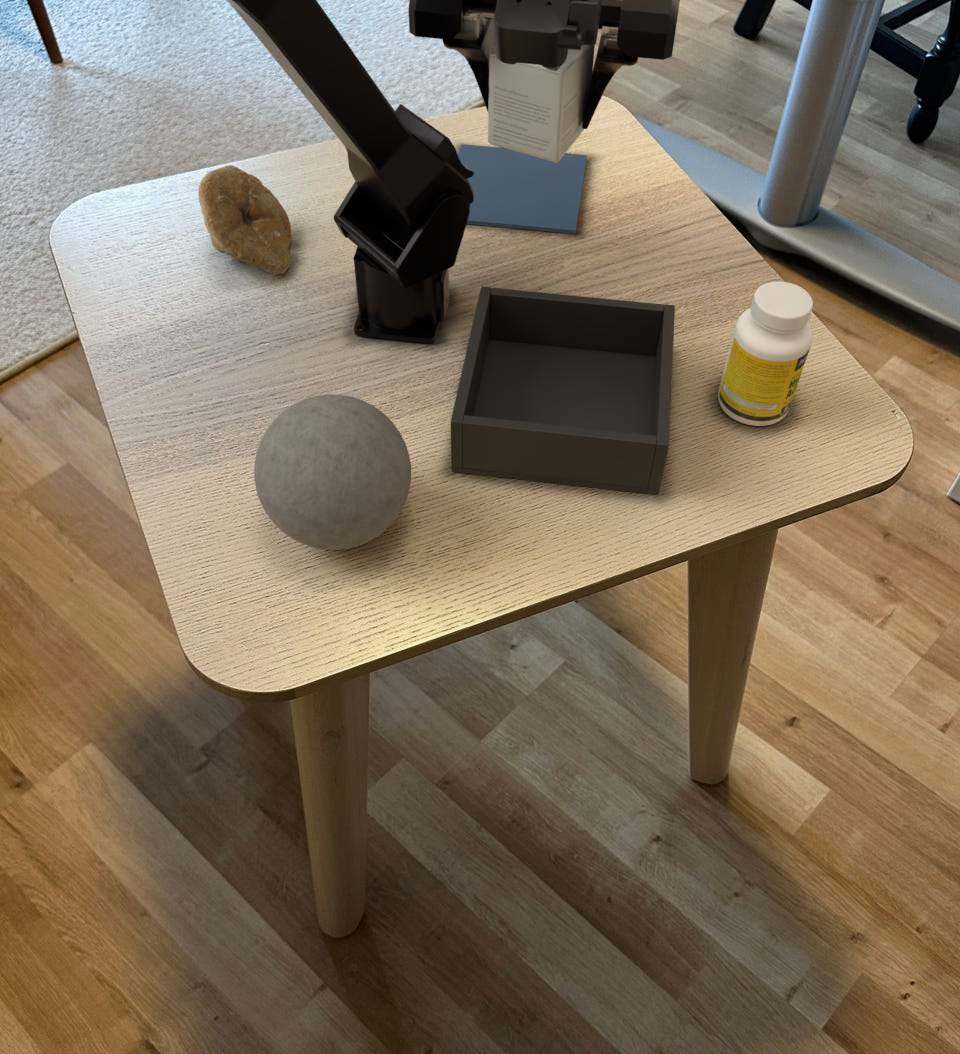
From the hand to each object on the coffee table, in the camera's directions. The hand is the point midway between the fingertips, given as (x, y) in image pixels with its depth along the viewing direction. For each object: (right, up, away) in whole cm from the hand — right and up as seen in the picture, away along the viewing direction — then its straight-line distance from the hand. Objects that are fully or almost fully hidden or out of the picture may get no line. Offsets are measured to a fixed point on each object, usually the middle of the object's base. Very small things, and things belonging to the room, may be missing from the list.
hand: (539, 121), depth 83 cm
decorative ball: (-14, -31, -10) cm, 36 cm away
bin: (+2, -23, -3) cm, 23 cm away
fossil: (-24, -8, +9) cm, 27 cm away
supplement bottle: (+16, -22, -2) cm, 27 cm away
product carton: (0, -1, +1) cm, 1 cm away
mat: (-1, 0, +15) cm, 15 cm away
